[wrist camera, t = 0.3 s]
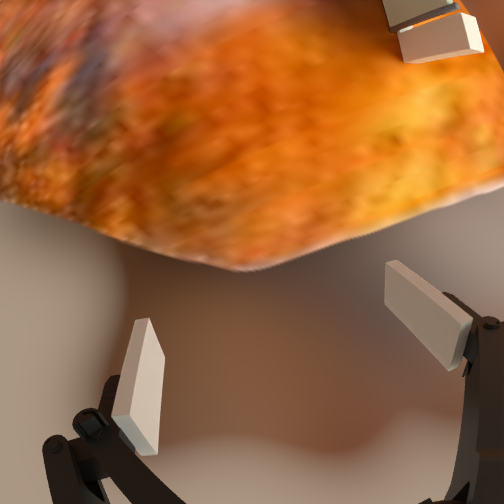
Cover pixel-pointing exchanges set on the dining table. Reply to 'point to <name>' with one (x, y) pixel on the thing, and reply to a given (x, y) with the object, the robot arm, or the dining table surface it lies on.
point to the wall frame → (440, 39)
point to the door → (415, 11)
